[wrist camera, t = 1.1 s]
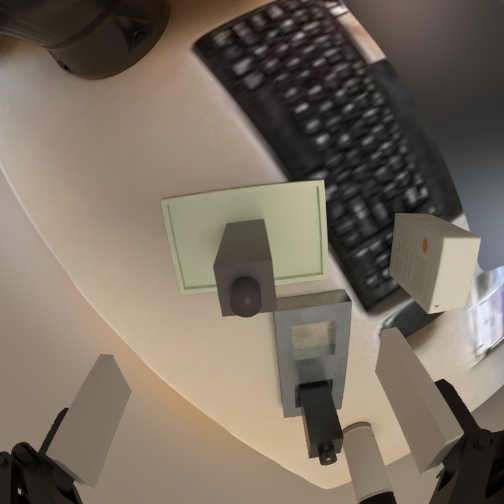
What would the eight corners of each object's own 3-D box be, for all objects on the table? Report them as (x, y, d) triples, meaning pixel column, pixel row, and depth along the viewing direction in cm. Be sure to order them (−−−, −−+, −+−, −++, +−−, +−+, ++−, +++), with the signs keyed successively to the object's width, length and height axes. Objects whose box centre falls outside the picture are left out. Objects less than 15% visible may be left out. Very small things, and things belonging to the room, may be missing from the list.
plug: (226, 223, 30) (209, 278, 17) (264, 218, 30) (274, 271, 17) (232, 258, 32) (220, 332, 19) (267, 253, 32) (279, 326, 18)
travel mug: (376, 419, 44) (406, 501, 25) (361, 438, 46) (385, 515, 27) (348, 421, 43) (374, 510, 24) (335, 439, 46) (354, 522, 27)
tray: (163, 198, 30) (160, 200, 29) (320, 179, 29) (323, 180, 28) (183, 290, 34) (180, 295, 33) (325, 274, 33) (328, 278, 32)
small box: (421, 271, 33) (465, 309, 23) (386, 273, 33) (427, 316, 23) (429, 212, 30) (483, 237, 21) (393, 211, 31) (444, 237, 21)
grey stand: (272, 299, 34) (285, 389, 20) (344, 289, 34) (391, 368, 20) (282, 404, 41) (290, 481, 27) (337, 395, 40) (358, 469, 27)
